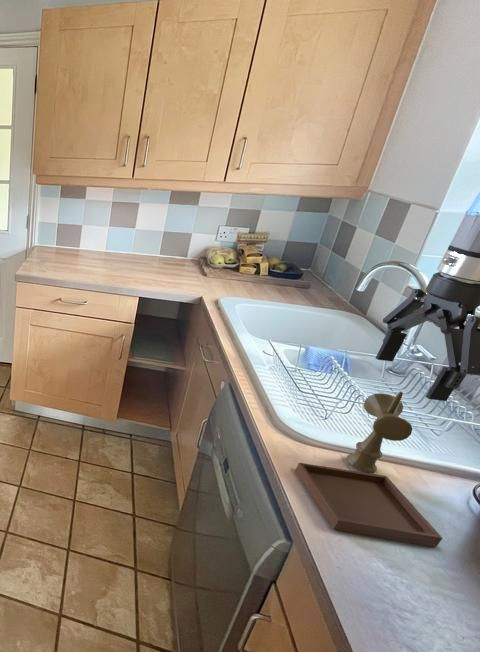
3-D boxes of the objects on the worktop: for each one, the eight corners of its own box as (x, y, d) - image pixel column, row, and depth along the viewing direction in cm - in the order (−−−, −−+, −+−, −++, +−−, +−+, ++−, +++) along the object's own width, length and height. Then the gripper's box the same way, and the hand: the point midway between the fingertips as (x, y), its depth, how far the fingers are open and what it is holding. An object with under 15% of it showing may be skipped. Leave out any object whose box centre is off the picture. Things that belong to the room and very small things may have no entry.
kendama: (373, 458, 93) (415, 385, 85) (382, 487, 86) (429, 409, 78) (339, 447, 96) (376, 375, 88) (345, 474, 89) (387, 398, 81)
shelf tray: (381, 484, 86) (386, 475, 85) (436, 547, 74) (443, 538, 73) (294, 471, 89) (298, 462, 88) (333, 529, 77) (338, 520, 76)
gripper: (390, 254, 84) (347, 344, 93) (507, 303, 62) (436, 415, 71) (433, 257, 83) (385, 348, 92) (569, 309, 61) (488, 422, 70)
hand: (407, 378), depth 81 cm, fingers open, 13 cm apart
